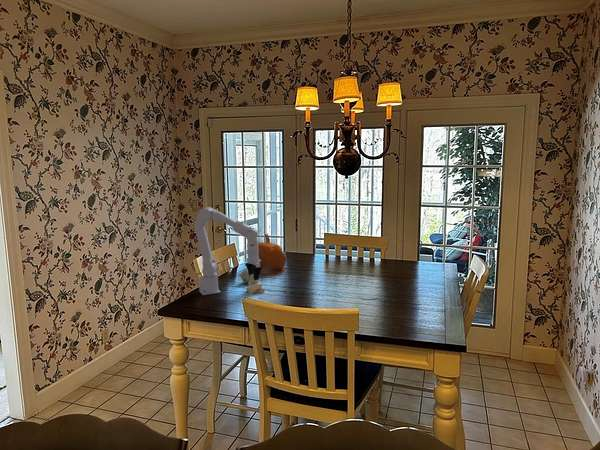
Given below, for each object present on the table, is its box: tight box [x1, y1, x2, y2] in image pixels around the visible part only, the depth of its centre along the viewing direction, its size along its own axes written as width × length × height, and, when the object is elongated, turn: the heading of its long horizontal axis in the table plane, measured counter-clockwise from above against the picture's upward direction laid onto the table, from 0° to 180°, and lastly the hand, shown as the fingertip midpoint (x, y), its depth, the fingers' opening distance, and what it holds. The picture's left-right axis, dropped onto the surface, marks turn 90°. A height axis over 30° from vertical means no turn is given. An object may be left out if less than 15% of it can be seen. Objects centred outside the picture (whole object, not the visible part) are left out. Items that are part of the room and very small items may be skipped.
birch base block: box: [246, 286, 265, 295], centre depth 230 cm, size 7×7×2 cm
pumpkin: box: [258, 233, 287, 276], centre depth 270 cm, size 22×25×23 cm
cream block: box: [248, 281, 263, 290], centre depth 230 cm, size 6×6×2 cm
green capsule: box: [250, 274, 260, 284], centre depth 230 cm, size 4×4×4 cm
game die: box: [238, 268, 250, 284], centre depth 245 cm, size 9×8×10 cm
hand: (253, 278), depth 229 cm, fingers open, 7 cm apart
